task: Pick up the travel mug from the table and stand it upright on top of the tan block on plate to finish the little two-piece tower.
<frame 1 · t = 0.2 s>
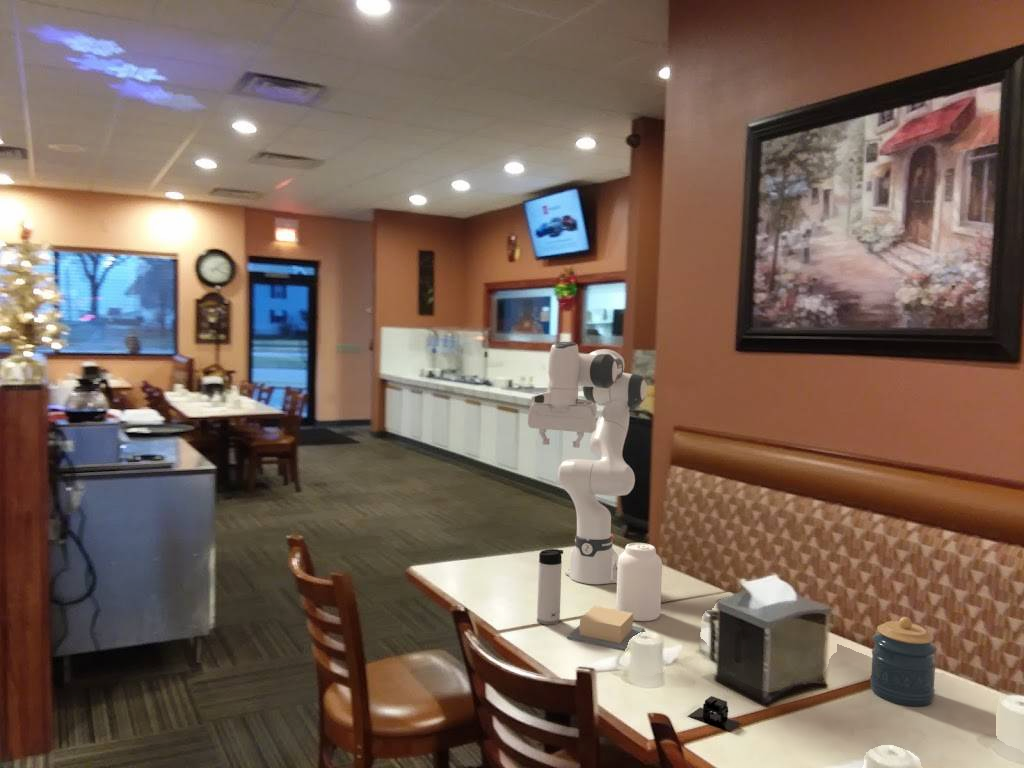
hand: (560, 446, 221), 47 cm above the table, tool pointing down, fingers open, 8 cm apart
tan block on plate: (606, 634, 203), on the table
can: (637, 615, 219), on the table
canister: (901, 694, 173), on the table
build plate: (714, 723, 159), on the table
travel mug: (548, 621, 212), on the table
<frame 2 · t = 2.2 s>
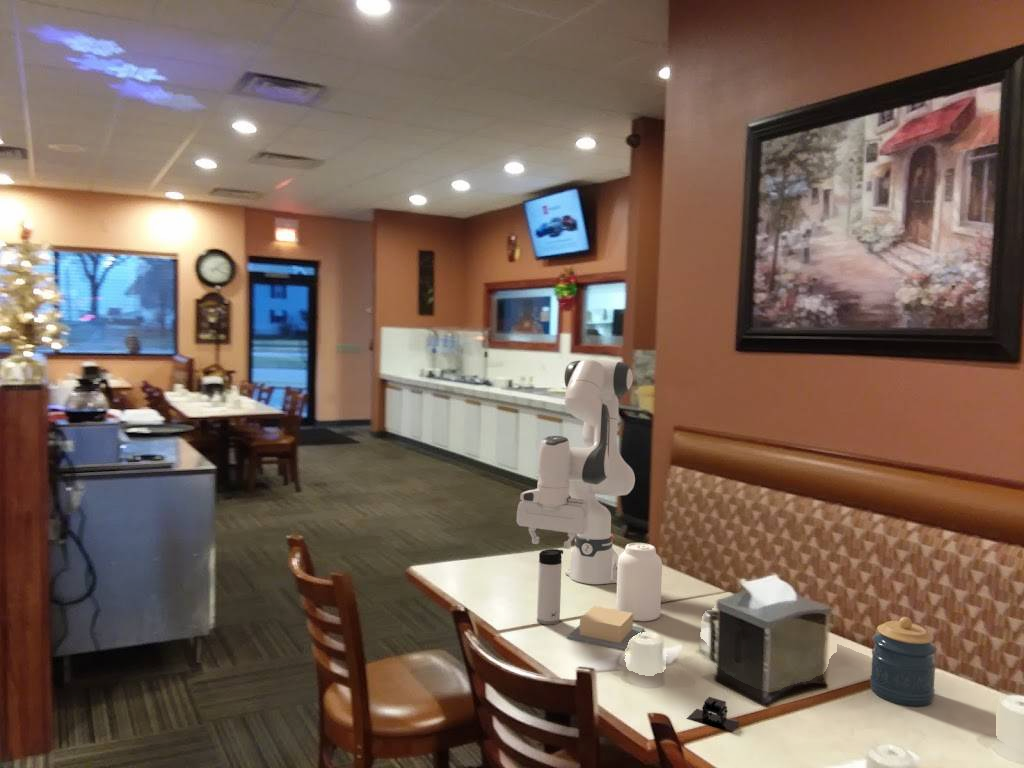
hand: (551, 545, 210), 21 cm above the table, tool pointing down, fingers open, 8 cm apart
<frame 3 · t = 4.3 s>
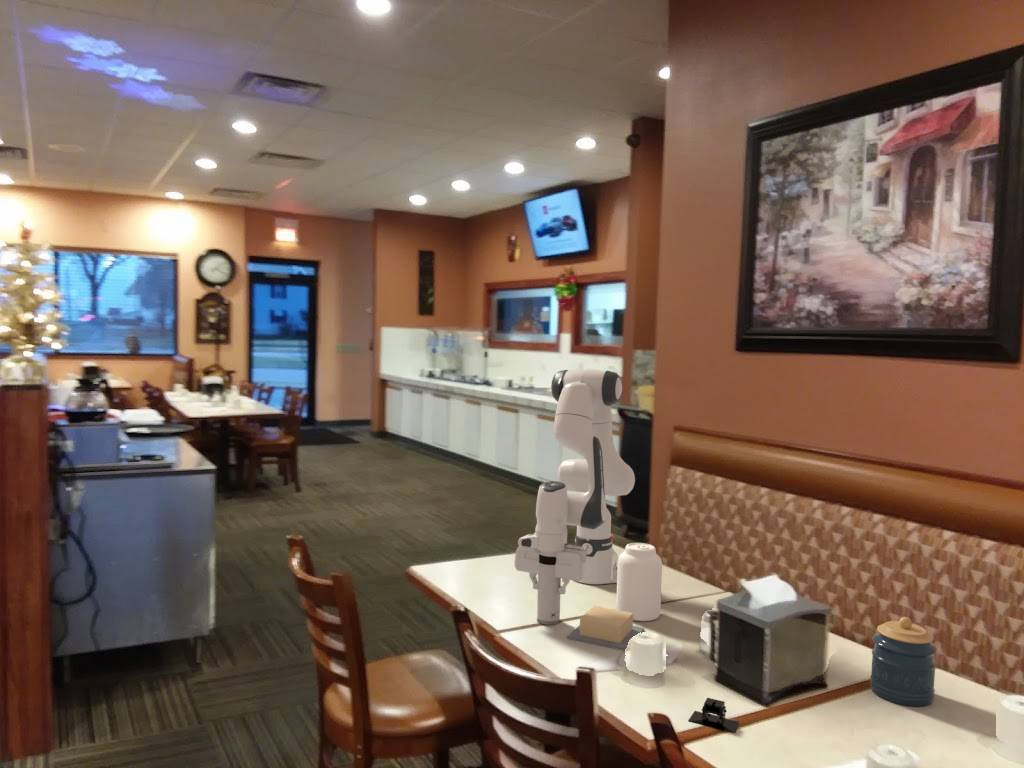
hand: (549, 591, 211), 9 cm above the table, tool pointing down, fingers closed on travel mug, 6 cm apart
travel mug: (548, 621, 212), on the table, touching arm, gripper
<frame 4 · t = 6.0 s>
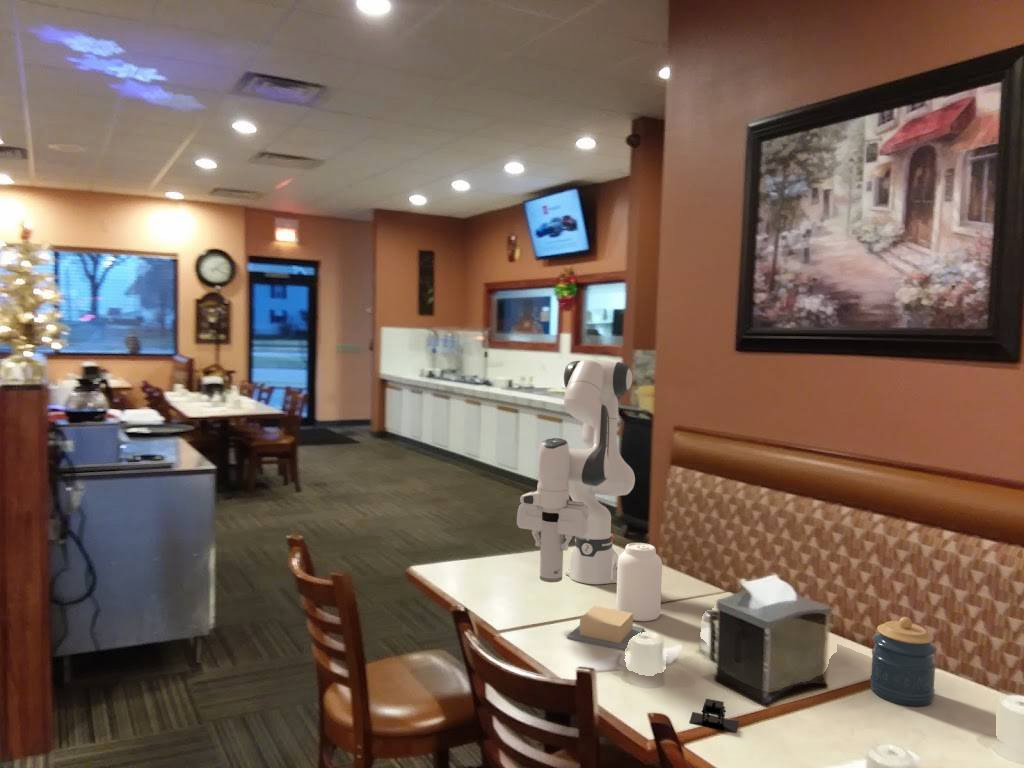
hand: (551, 547, 211), 20 cm above the table, tool pointing down, fingers closed on travel mug, 6 cm apart
travel mug: (551, 579, 212), point 11 cm above the table, touching gripper
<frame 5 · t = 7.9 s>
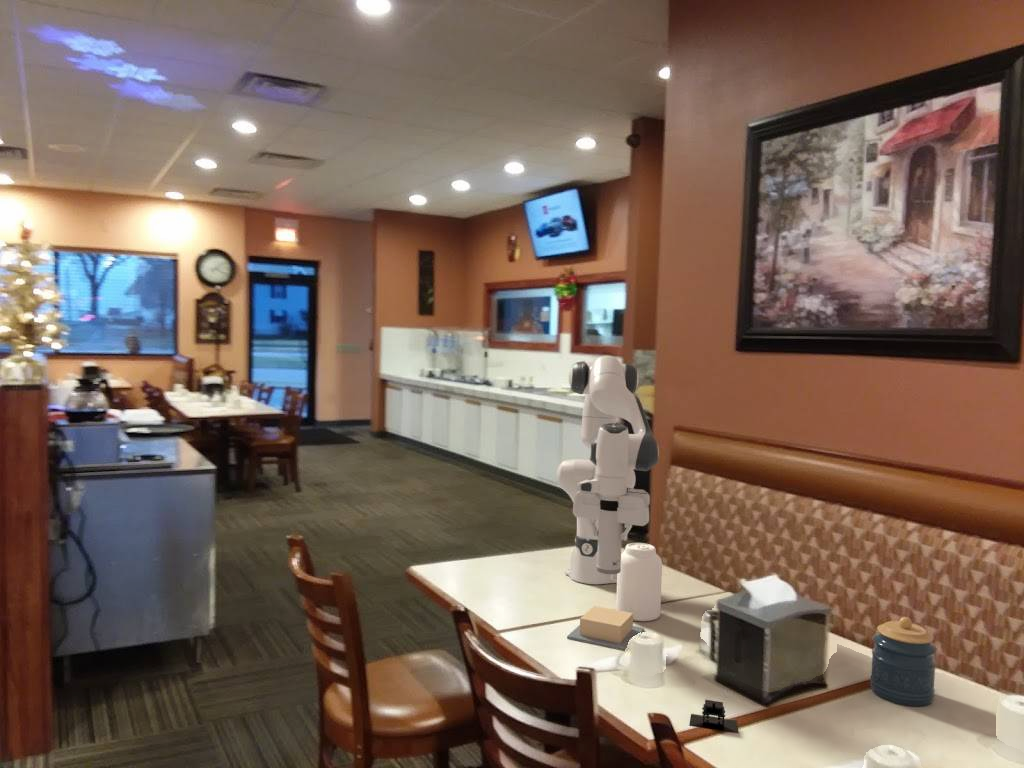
hand: (609, 537, 202), 26 cm above the table, tool pointing down, fingers closed on travel mug, 6 cm apart
travel mug: (609, 571, 203), point 17 cm above the table, touching gripper
when the fingers open (14 cm above the table, at t = 10.9 s): travel mug stays where it is, resting on tan block on plate.
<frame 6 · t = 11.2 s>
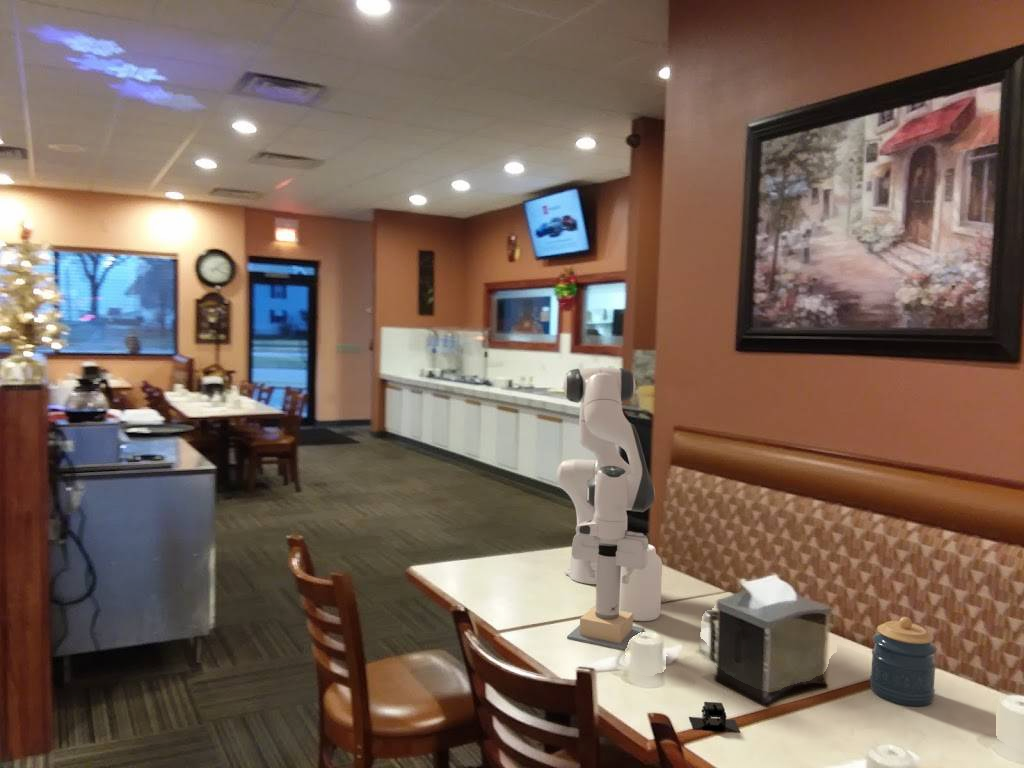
hand: (608, 580, 203), 15 cm above the table, tool pointing down, fingers open, 8 cm apart
travel mug: (607, 616, 203), point 5 cm above the table, touching tan block on plate
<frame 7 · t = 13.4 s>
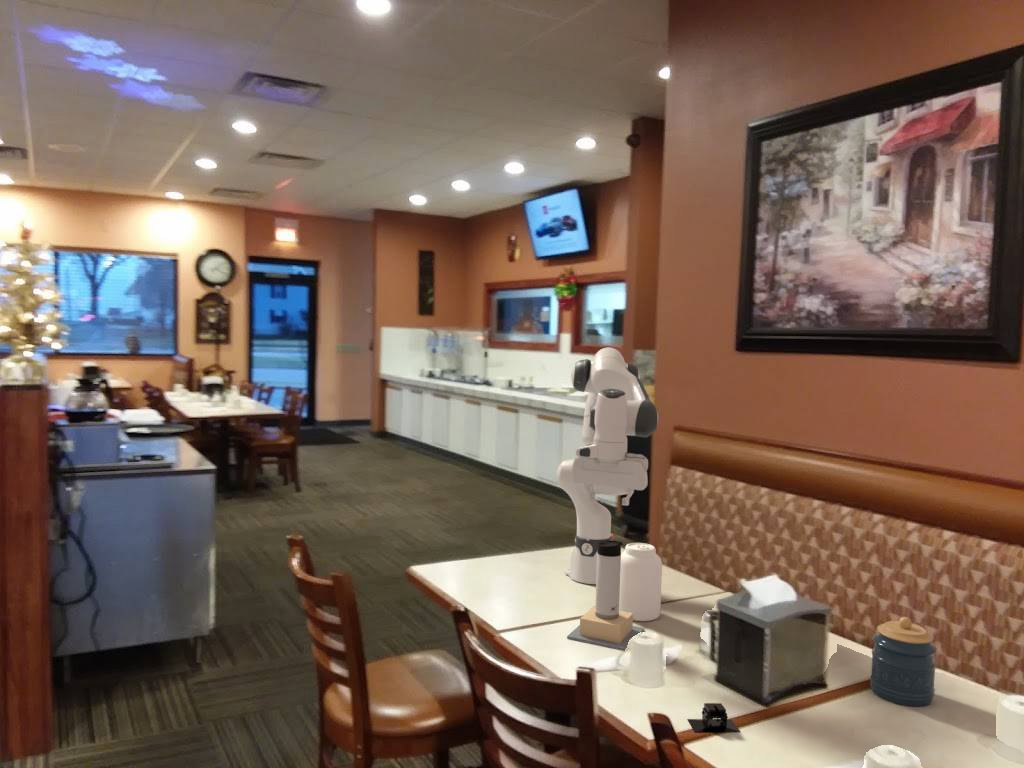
hand: (608, 502, 203), 35 cm above the table, tool pointing down, fingers open, 8 cm apart
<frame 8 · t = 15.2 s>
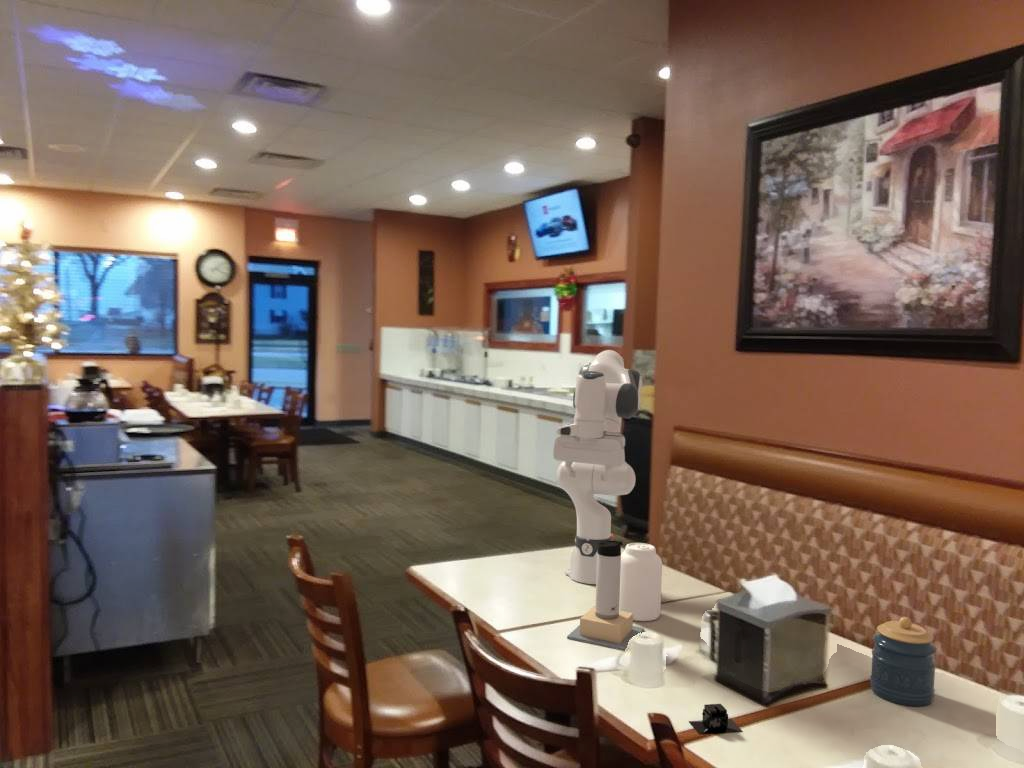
hand: (587, 479, 214), 39 cm above the table, tool pointing down, fingers open, 8 cm apart
at the end: travel mug inside the target area (0.2 cm from its centre), point 4.8 cm above the table; travel mug tilted 0°; the gripper is holding nothing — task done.
